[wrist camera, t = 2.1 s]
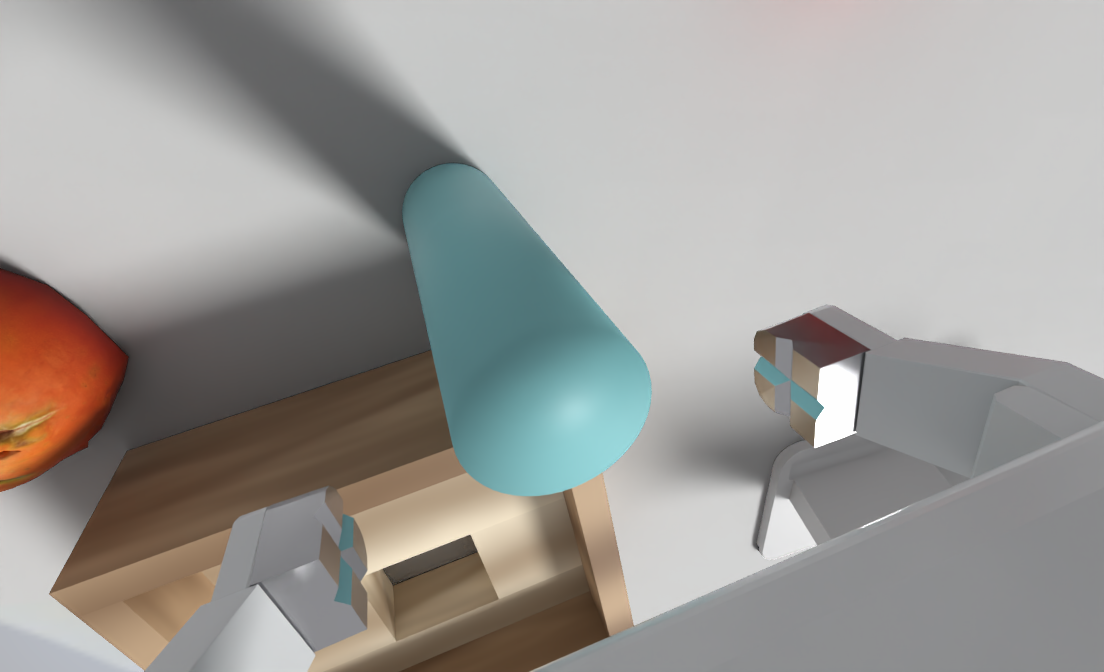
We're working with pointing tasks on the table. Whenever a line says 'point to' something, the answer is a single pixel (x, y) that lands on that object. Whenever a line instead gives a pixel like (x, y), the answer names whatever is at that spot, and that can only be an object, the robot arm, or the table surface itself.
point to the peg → (517, 342)
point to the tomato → (49, 379)
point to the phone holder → (840, 491)
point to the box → (383, 518)
